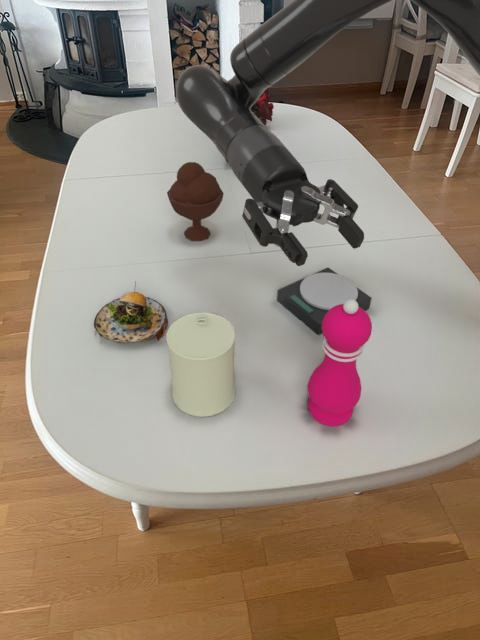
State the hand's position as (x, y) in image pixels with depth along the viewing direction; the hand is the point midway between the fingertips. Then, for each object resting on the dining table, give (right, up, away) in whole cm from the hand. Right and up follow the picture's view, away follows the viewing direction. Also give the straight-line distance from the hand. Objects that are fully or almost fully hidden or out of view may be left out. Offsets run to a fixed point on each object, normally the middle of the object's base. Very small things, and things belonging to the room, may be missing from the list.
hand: (332, 251), depth 62 cm
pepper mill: (+2, -21, +12) cm, 24 cm away
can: (-16, -19, +14) cm, 29 cm away
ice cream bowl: (-20, +10, +46) cm, 51 cm away
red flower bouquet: (-10, +41, +82) cm, 92 cm away
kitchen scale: (+3, -5, +29) cm, 30 cm away
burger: (-29, -9, +25) cm, 39 cm away
